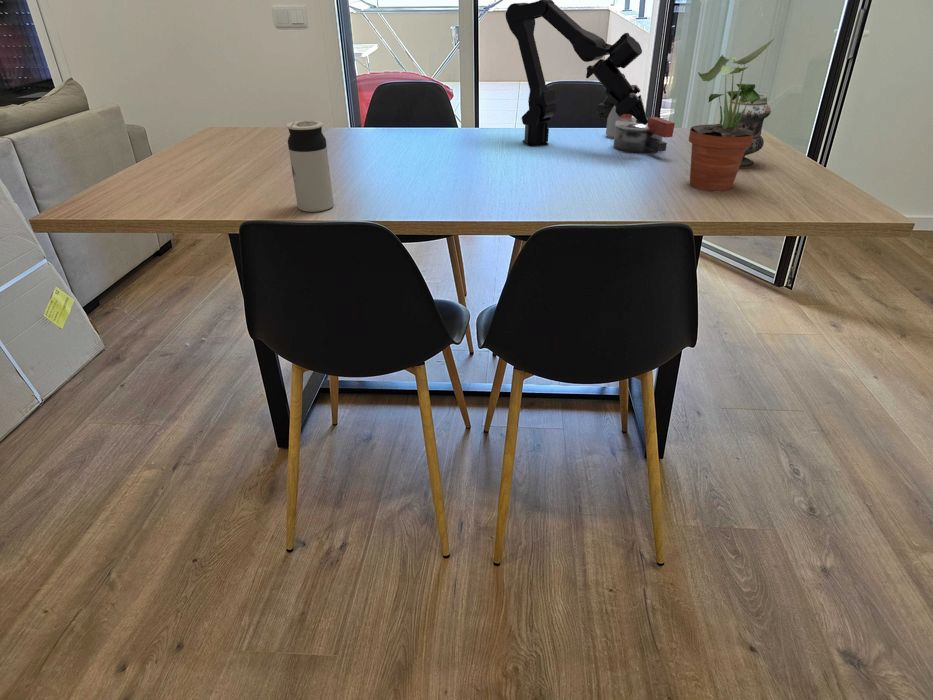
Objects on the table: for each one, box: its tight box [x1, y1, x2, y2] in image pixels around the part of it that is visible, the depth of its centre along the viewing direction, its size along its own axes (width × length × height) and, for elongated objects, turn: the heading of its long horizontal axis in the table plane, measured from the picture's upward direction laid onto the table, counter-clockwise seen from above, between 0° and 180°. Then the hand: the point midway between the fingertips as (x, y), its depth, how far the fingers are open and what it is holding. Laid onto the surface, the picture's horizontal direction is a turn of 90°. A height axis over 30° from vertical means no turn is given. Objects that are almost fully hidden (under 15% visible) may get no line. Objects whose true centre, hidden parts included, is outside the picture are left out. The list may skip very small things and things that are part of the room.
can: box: [605, 105, 621, 140], centre depth 192 cm, size 8×8×12 cm
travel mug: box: [286, 119, 334, 213], centre depth 131 cm, size 8×8×18 cm
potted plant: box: [688, 38, 775, 192], centre depth 141 cm, size 16×15×35 cm
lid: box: [615, 114, 675, 138], centre depth 176 cm, size 14×25×4 cm, turn 17°
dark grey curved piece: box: [613, 127, 668, 155], centre depth 179 cm, size 14×24×6 cm, turn 14°
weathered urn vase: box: [722, 92, 772, 169], centre depth 163 cm, size 12×12×18 cm
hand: (646, 123), depth 169 cm, fingers closed
